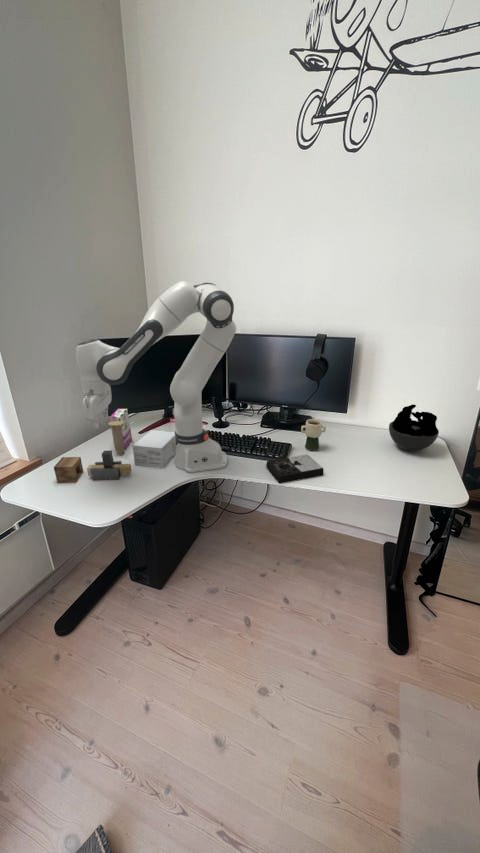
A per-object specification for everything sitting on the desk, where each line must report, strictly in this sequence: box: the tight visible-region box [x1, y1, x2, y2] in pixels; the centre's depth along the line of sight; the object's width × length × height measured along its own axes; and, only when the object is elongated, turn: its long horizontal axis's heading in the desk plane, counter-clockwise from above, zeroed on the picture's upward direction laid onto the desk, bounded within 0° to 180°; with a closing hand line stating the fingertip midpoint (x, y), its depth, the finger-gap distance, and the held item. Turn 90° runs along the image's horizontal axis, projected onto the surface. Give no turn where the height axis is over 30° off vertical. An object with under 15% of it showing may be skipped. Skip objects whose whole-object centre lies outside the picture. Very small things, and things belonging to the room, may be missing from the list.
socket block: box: [53, 456, 84, 484], centre depth 137 cm, size 7×8×7 cm
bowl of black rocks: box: [388, 404, 440, 451], centre depth 156 cm, size 20×20×19 cm
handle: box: [107, 421, 125, 456], centre depth 154 cm, size 5×6×15 cm
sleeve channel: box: [91, 460, 123, 482], centre depth 138 cm, size 10×6×5 cm, turn 93°
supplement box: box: [131, 429, 176, 469], centre depth 152 cm, size 17×13×9 cm
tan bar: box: [86, 449, 133, 477], centre depth 137 cm, size 16×3×9 cm, turn 93°
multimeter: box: [266, 453, 325, 484], centre depth 141 cm, size 13×19×5 cm
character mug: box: [300, 418, 327, 451], centre depth 158 cm, size 11×7×13 cm, turn 90°
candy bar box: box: [108, 408, 133, 451], centre depth 162 cm, size 11×5×16 cm, turn 179°
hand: (101, 422), depth 130 cm, fingers open, 8 cm apart
